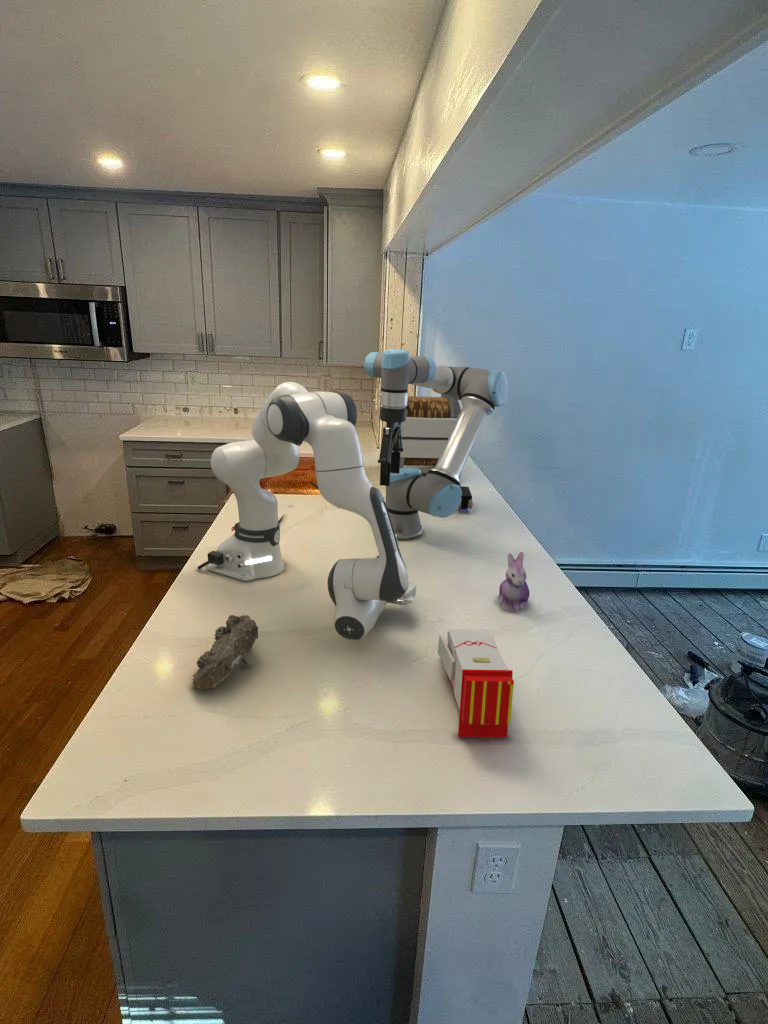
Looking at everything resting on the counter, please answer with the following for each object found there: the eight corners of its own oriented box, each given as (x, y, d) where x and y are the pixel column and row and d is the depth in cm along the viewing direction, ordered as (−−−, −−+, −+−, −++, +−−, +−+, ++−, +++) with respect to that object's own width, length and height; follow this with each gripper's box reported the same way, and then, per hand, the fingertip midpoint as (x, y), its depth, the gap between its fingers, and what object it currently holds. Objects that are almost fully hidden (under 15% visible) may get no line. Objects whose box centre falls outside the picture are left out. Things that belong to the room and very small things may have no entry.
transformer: (382, 463, 289) (386, 382, 275) (445, 464, 293) (451, 384, 279) (390, 482, 257) (394, 392, 243) (460, 483, 261) (468, 394, 247)
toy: (488, 613, 130) (523, 677, 101) (484, 667, 133) (517, 744, 104) (435, 612, 130) (455, 676, 101) (432, 666, 133) (451, 743, 103)
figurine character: (472, 517, 222) (467, 501, 236) (475, 500, 219) (469, 484, 233) (455, 517, 222) (451, 500, 236) (457, 499, 219) (452, 484, 232)
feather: (291, 508, 223) (294, 504, 222) (274, 533, 196) (277, 528, 195) (287, 506, 222) (290, 502, 222) (270, 530, 196) (272, 526, 195)
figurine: (511, 616, 149) (518, 564, 143) (487, 598, 157) (493, 549, 152) (539, 609, 153) (547, 558, 148) (514, 592, 161) (521, 544, 156)
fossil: (212, 617, 133) (257, 588, 128) (239, 645, 136) (285, 617, 131) (172, 683, 114) (224, 651, 109) (205, 714, 117) (258, 684, 112)
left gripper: (410, 593, 138) (422, 570, 151) (332, 579, 143) (349, 558, 156) (409, 615, 140) (421, 591, 153) (331, 602, 145) (349, 579, 158)
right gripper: (390, 399, 172) (387, 467, 179) (369, 412, 149) (366, 489, 156) (414, 401, 171) (410, 469, 178) (397, 415, 148) (393, 492, 155)
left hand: (384, 574), depth 154 cm, fingers open, 8 cm apart
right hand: (389, 479), depth 167 cm, fingers open, 13 cm apart
